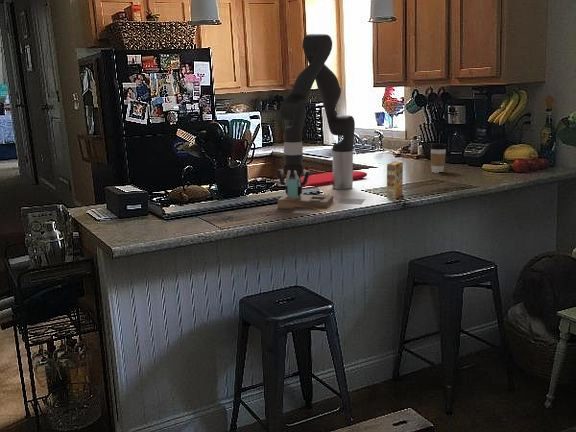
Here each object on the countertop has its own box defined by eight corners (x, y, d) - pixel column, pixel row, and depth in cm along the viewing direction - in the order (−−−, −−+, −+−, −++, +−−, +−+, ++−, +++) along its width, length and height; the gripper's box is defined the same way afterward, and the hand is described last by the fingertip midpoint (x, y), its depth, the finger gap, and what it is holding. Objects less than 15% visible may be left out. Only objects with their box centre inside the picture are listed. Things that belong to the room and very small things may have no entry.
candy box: (395, 200, 266) (396, 164, 262) (385, 200, 268) (386, 163, 264) (402, 197, 273) (403, 161, 270) (393, 196, 276) (394, 161, 272)
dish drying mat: (282, 185, 306) (282, 177, 305) (346, 175, 329) (346, 168, 328) (302, 190, 293) (302, 182, 292) (367, 179, 317) (368, 172, 316)
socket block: (286, 201, 267) (286, 192, 266) (332, 204, 261) (333, 195, 260) (277, 208, 255) (277, 198, 254) (326, 210, 250) (326, 201, 249)
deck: (341, 200, 268) (341, 198, 268) (365, 201, 265) (365, 199, 265) (336, 205, 259) (336, 203, 258) (361, 206, 256) (361, 204, 256)
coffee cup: (426, 171, 335) (427, 142, 331) (440, 170, 337) (441, 142, 334) (434, 173, 327) (435, 144, 324) (448, 172, 330) (450, 144, 326)
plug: (290, 201, 262) (290, 175, 259) (299, 201, 261) (299, 175, 258) (287, 203, 258) (287, 177, 255) (297, 204, 257) (297, 177, 254)
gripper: (312, 152, 256) (312, 194, 260) (279, 151, 260) (279, 192, 264) (308, 154, 249) (308, 197, 253) (273, 153, 253) (274, 196, 257)
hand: (293, 194), depth 259 cm, fingers closed on plug, 4 cm apart
